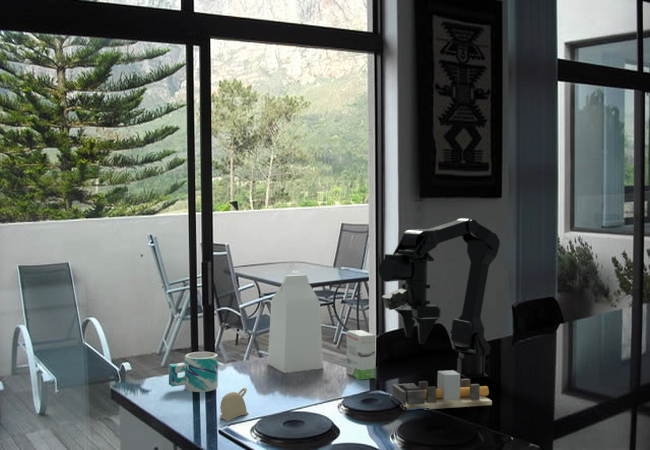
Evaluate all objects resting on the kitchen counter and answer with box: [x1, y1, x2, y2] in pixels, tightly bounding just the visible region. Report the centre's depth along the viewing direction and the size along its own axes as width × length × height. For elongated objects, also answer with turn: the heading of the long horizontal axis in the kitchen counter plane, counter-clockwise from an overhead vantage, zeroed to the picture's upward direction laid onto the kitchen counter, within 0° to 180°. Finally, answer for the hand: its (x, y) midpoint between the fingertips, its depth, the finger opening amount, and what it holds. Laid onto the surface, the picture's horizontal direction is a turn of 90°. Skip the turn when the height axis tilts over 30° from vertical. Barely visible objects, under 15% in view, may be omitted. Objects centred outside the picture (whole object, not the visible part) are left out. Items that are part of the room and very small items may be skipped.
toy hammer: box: [403, 369, 490, 401], centre depth 175 cm, size 21×4×6 cm, turn 105°
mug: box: [168, 351, 219, 393], centre depth 184 cm, size 8×12×8 cm
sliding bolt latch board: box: [391, 378, 493, 410], centre depth 174 cm, size 22×9×4 cm, turn 105°
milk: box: [267, 274, 324, 374], centre depth 208 cm, size 12×12×26 cm
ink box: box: [345, 329, 376, 380], centre depth 199 cm, size 9×5×12 cm, turn 25°
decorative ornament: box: [219, 387, 249, 422], centre depth 162 cm, size 4×8×5 cm, turn 142°
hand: (414, 340), depth 188 cm, fingers open, 9 cm apart
